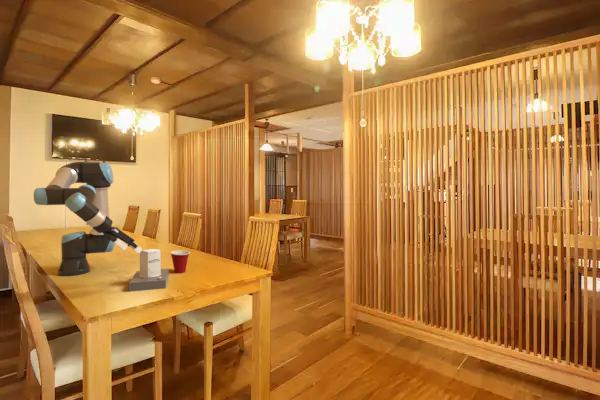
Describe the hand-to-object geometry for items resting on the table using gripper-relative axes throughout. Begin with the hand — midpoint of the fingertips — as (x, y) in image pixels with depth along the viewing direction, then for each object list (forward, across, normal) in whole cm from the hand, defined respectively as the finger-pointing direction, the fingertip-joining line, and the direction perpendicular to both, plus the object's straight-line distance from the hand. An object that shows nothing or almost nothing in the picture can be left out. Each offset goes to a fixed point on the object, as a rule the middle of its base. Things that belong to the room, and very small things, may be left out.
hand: (132, 249), depth 158 cm
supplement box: (+16, 0, -4) cm, 17 cm away
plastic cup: (+35, -7, +9) cm, 37 cm away
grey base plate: (+19, 0, -7) cm, 20 cm away
